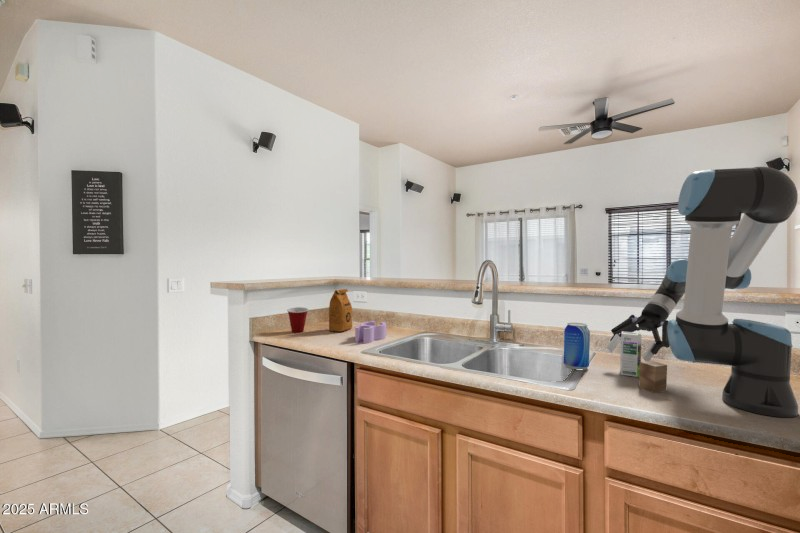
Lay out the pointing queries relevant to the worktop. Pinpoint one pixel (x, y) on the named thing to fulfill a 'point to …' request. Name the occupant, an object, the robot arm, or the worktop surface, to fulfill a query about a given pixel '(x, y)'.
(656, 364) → the walnut block
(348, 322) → the coffee package
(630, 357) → the syrup box
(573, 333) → the blue canister
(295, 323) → the plastic cup
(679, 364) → the worktop surface
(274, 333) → the worktop surface
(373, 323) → the clip
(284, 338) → the worktop surface
